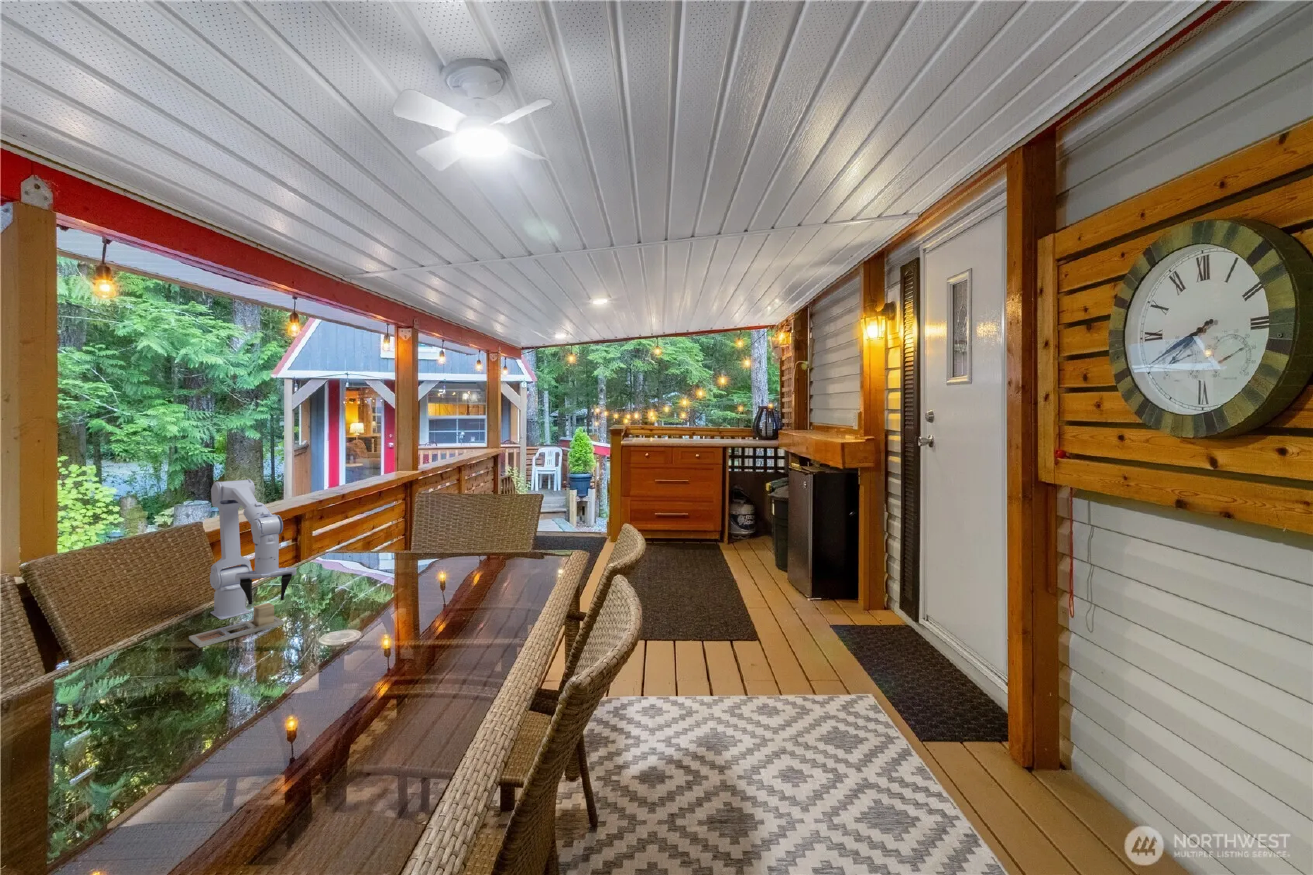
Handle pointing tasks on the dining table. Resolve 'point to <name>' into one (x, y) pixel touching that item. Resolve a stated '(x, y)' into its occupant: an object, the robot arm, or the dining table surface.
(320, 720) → the dining table surface
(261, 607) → the block
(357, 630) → the dining table surface
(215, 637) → the white rectangular slotted frame
